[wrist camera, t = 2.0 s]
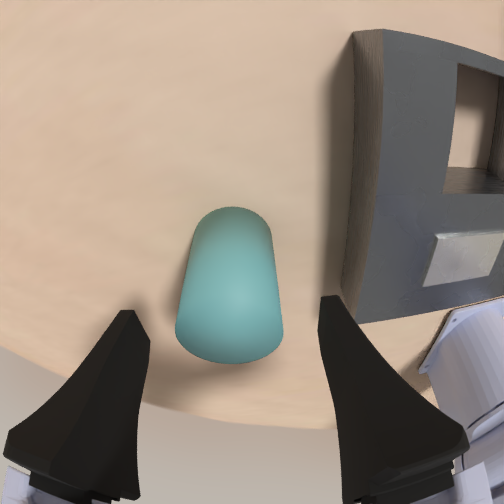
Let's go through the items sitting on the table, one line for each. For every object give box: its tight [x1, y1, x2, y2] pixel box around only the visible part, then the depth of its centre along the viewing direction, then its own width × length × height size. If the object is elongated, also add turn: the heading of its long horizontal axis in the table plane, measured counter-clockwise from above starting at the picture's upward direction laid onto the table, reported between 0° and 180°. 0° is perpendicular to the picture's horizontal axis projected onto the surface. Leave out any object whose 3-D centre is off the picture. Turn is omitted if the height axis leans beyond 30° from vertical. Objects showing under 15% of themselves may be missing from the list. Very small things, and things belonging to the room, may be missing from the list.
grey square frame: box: [341, 29, 504, 324], centre depth 12 cm, size 14×12×3 cm
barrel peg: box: [175, 207, 283, 364], centre depth 13 cm, size 4×4×6 cm
